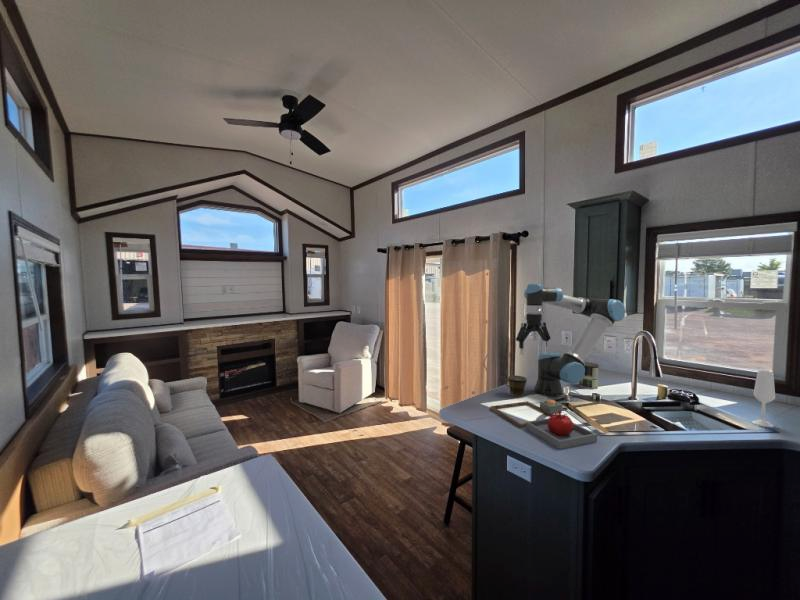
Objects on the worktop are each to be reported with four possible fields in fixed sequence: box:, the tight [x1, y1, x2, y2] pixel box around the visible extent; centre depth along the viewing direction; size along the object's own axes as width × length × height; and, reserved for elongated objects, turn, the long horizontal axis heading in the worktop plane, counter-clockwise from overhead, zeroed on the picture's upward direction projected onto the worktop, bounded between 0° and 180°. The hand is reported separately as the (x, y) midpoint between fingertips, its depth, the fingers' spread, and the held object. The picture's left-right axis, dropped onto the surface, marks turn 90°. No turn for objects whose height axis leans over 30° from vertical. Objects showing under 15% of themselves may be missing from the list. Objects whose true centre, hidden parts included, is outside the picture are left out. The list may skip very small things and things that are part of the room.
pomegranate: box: [547, 411, 574, 436], centre depth 138 cm, size 10×10×9 cm
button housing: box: [539, 400, 563, 415], centre depth 164 cm, size 7×7×4 cm
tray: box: [525, 417, 598, 450], centre depth 138 cm, size 19×19×3 cm
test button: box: [546, 398, 556, 405], centre depth 164 cm, size 4×4×4 cm
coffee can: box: [578, 361, 600, 390], centre depth 203 cm, size 10×10×14 cm
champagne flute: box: [751, 369, 776, 428], centre depth 149 cm, size 7×7×24 cm
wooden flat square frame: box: [489, 400, 555, 429], centre depth 159 cm, size 23×23×2 cm
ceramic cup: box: [504, 375, 528, 398], centre depth 186 cm, size 13×10×10 cm
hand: (533, 353), depth 172 cm, fingers open, 13 cm apart
